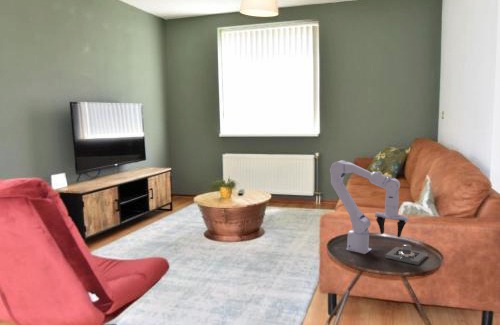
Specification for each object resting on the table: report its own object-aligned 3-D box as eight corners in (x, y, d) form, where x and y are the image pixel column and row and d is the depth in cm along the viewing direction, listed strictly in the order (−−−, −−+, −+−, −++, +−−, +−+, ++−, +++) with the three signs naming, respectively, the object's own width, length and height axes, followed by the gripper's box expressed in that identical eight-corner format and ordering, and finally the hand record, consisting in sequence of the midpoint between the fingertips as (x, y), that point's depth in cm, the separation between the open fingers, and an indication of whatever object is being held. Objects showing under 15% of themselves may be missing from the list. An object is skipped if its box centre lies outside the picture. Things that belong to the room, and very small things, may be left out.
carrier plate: (385, 257, 183) (385, 254, 183) (396, 249, 194) (396, 246, 194) (417, 265, 174) (417, 261, 174) (427, 256, 185) (427, 253, 185)
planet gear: (395, 257, 184) (395, 245, 183) (401, 253, 189) (401, 241, 188) (411, 261, 179) (411, 249, 178) (417, 256, 184) (417, 245, 184)
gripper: (372, 204, 185) (371, 233, 187) (405, 209, 177) (403, 240, 178) (378, 202, 191) (377, 230, 193) (410, 206, 182) (409, 236, 184)
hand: (390, 234), depth 186 cm, fingers open, 7 cm apart
